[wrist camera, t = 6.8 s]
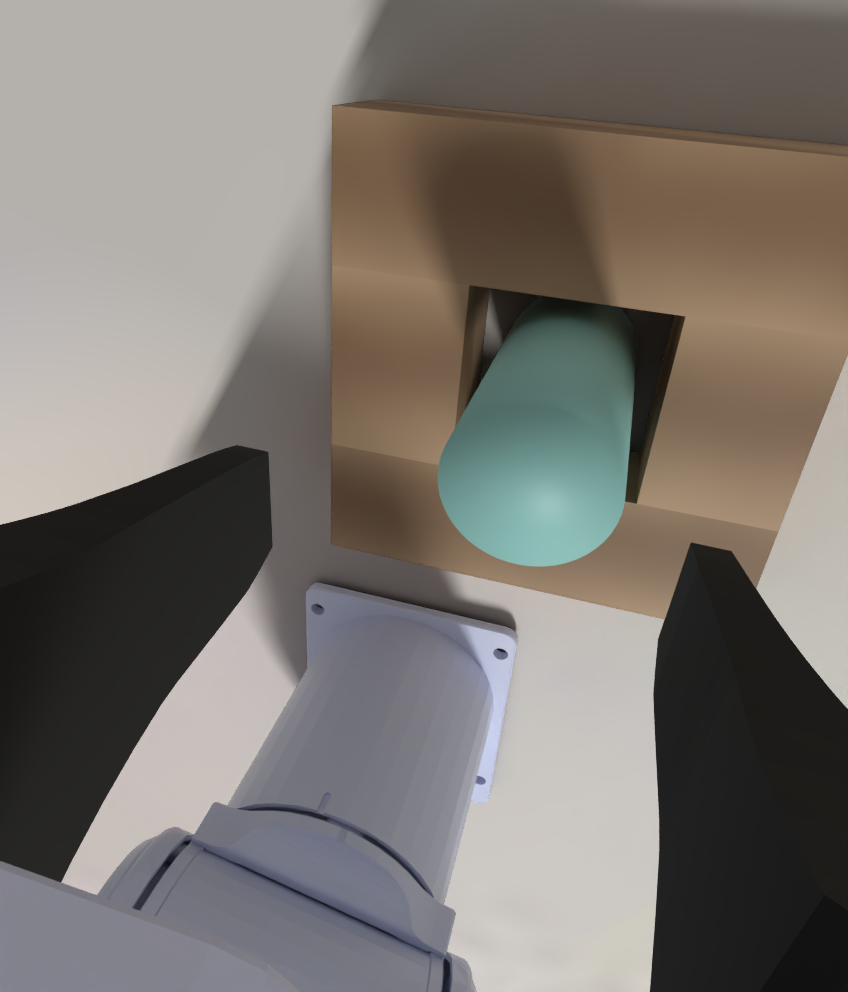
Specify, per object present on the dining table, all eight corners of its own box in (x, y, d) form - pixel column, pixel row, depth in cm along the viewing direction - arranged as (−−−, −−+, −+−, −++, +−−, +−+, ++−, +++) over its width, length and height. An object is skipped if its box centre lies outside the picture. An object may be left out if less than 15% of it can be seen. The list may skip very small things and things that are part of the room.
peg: (616, 424, 21) (596, 587, 15) (496, 394, 22) (425, 538, 15) (654, 304, 19) (651, 429, 13) (522, 274, 20) (453, 380, 13)
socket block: (729, 572, 23) (737, 635, 20) (364, 496, 25) (331, 544, 23) (882, 148, 16) (922, 164, 14) (375, 99, 19) (331, 105, 16)
